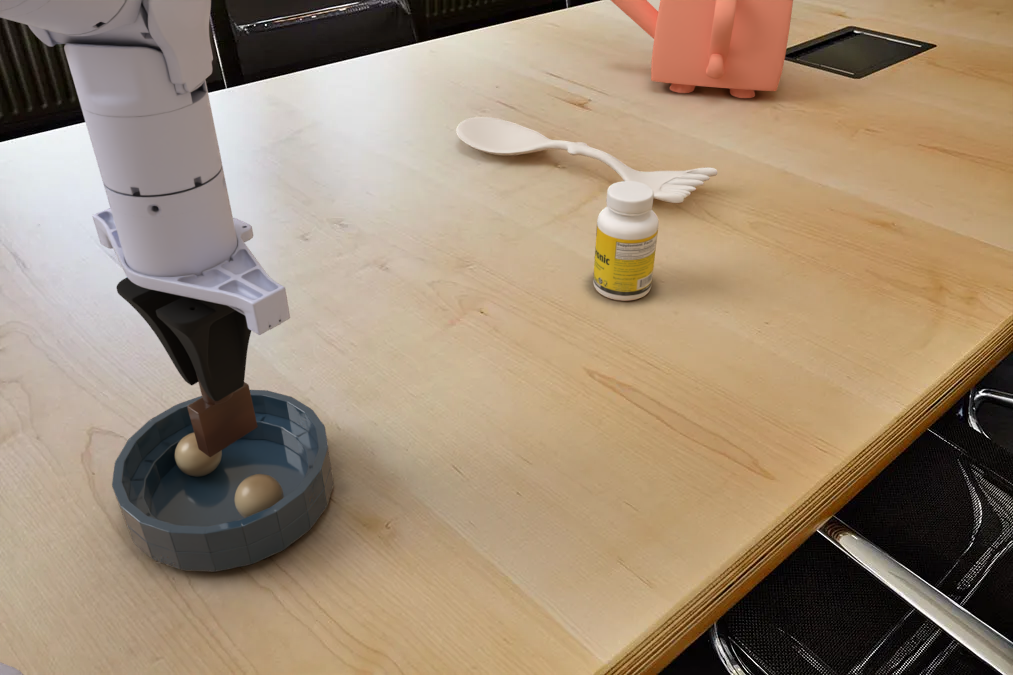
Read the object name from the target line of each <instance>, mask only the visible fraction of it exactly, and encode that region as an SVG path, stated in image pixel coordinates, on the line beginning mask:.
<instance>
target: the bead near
mask: <svg viewBox="0 0 1013 675" xmlns="http://www.w3.org/2000/svg"><path fill="white" fill-rule="evenodd" d="M283 498H284V495H283V490H282V487H281V485H280V484H279V483H278V481H277V480H275V479H274V478H273V477H271V476H269V475H265V474H256V475H252V476H249V477H247V478H246V479H245V480H243V481H242V482H241V483H240V485H239V486H238V488H237V490H236V493H235V506H236V509H237V511H238V512H239V513H240V515H241V516H242V517H244V518H246V517H248V516H251V515H253V514H255V513H258V512H260V511H262V510H265V509H267V508H270V507H271V506H273V505H274V504H276V503H277V502H278V501H280V500H281V499H283Z"/></svg>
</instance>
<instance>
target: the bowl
mask: <svg viewBox="0 0 1013 675" xmlns="http://www.w3.org/2000/svg"><path fill="white" fill-rule="evenodd" d="M250 394H251V399H252V403H253V408H254V412H255V417H256V422H257V426H258V427H257V428H256V429H254V430H252V431H251V432H249V433H248V434H246V435H245V436H243V437H241V438H240V439H238V440H237V441H235V442H234V443H232V444H231V445H229V446H227V447H226V448H224V449H223V450H222V457H221V461H220V463H219V465H218V466H217V468H216V469H215V470H214V471H213V472H211V473H210V474H207V475H205V476H200V477H194V476H190V475H187V474H185V473H184V472H182V471H181V470H180V469H179V467H178V466H177V464H176V461H175V449H176V447H177V445H178V443H179V441H180V440H181V439H182V438H183V437H185V436H186V435H188V434H190V433H193V432H194V430H193V426H192V423H191V419H190V415H189V412H188V408H187V406H188V405H190V404H191V403H193V402H195V401H197V400H198V399H200V398H202V395H200V396H195V397H194V398H190V399H188V400H185V401H183V402H179V403H177V404H175V405H173V406H171V407H169V408H167V409H165V410H164V411H162V412H161V413H159V414H157V415H155V416H153V417H151V418H150V419H149V420H148V421H146V422H145V423H144V424H143V425H142V426H141V427H140V428H139V429H138V430H137V431H135V433H134V434H133V435H131V436H130V437H129V438H128V440H127V441H126V443H125V444H124V446H123V447H122V450H121V451H120V453H119V455H118V457H117V458H116V460H115V462H114V465H113V466H114V467H113V473H112V474H113V475H112V482H111V486H112V490H113V493H114V495H115V498H116V501H117V503H118V506H119V509H120V513H121V514H122V518H123V520H124V523H125V525H126V528H127V531H128V533H129V536H130V538H131V540H132V543H133V545H134V546H136V547H137V548H138V549H140V550H141V552H143V553H144V554H145V555H146V556H148V558H150V559H151V560H153V561H155V562H157V563H160V564H163V565H166V566H169V567H172V568H174V569H178V570H181V571H186V572H187V571H190V572H222V571H227V570H231V569H235V568H241V567H246V566H250V565H254V564H255V563H256V564H257V563H258V562H261V561H262V560H265V559H267V558H269V557H272V556H274V555H276V554H278V553H281V552H282V551H284V550H286V549H288V548H289V547H290V546H291V545H293V544H294V543H295V542H296V541H297V540H299V539H301V537H303V536H304V535H305V534H307V533H308V532H309V531H310V530H311V529H312V528H313V526H314V525H315V524H316V523H317V521H318V520H319V518H320V517H321V515H322V514H323V513H324V512H325V510H326V509H327V508H328V505H329V502H330V498H331V494H332V491H333V487H334V476H333V469H332V462H331V457H330V450H329V442H328V436H327V430H326V426H325V424H324V423H323V422H322V420H321V419H320V417H319V416H318V415H317V414H316V412H315V411H314V409H313V408H311V407H309V406H307V404H304V403H303V402H301V401H300V400H298V399H296V398H295V397H294V396H291V395H286V394H283V393H279V392H275V391H271V390H267V389H250ZM256 474H265V475H269V476H271V477H273V478H274V479H275V480H277V481H278V483H279V484H280V485H281V487H282V490H283V495H284V498H283V499H281V500H280V501H278V502H277V503H276V504H274V505H273V506H271V507H270V508H267V509H265V510H262V511H260V512H258V513H255V514H253V515H251V516H248V517H246V518H244V517H242V516H241V515H240V513H239V512H238V511H237V509H236V506H235V493H236V490H237V488H238V486H239V485H240V483H241V482H242V481H243V480H245V479H246V478H247V477H249V476H252V475H256Z"/></svg>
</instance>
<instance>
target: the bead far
mask: <svg viewBox="0 0 1013 675" xmlns="http://www.w3.org/2000/svg"><path fill="white" fill-rule="evenodd" d="M221 457H222V450H221V451H220V452H218V453H217V454H215V455H213V456H212V457H209V456H207V455H206V454H205V453H203V452H202V451H201V450H199V448H198V445H197V441H196V437H195V434H194V432H193V433H190V434H188V435H186V436H185V437H183V438H182V439H181V440H180V441H179V443H178V445H177V447H176V449H175V461H176V464H177V466H178V467H179V469H180V470H181V471H182V472H184V473H185V474H187V475H190V476H194V477H200V476H205V475H207V474H210V473H211V472H213V471H214V470H215V469H216V468H217V466H218V465H219V463H220V461H221Z"/></svg>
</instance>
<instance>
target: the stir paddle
mask: <svg viewBox="0 0 1013 675" xmlns="http://www.w3.org/2000/svg"><path fill="white" fill-rule="evenodd" d="M196 375H197V374H196ZM197 378H198V376H197ZM197 383H198V386H199V389H200V394H201V396H202V398H200V399H198V400H197V401H195V402H193V403H191V404H190V405H188V406H187V408H188V412H189V415H190V419H191V423H192V426H193V430H194V434H195V437H196V441H197V445H198V448H199V450H201V451H202V452H203V453H205V454H206V455H207V456H209V457H212V456H213V455H215V454H217V453H218V452H220V451H221V450H223V449H224V448H226V447H227V446H229V445H231V444H232V443H234V442H235V441H237V440H238V439H240V438H241V437H243V436H245V435H246V434H248V433H249V432H251V431H252V430H254V429H256V428H257V427H258V426H257V422H256V417H255V412H254V408H253V403H252V399H251V394H250V390H251V389H250V385H249V384H248V383H247V382H245V381H244V385H243V387H241V388H239V389H238V390H236V391H234V392H233V393H231V394H229V395H228V396H226V397H224V398H223V399H221V400H219V401H214V400H213V399H211V398H210V397H209V396H208V395H207V394H206V392H205V391H204V389H203V387H202V386H201V383H200V381H199V379H198V382H197Z"/></svg>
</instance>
